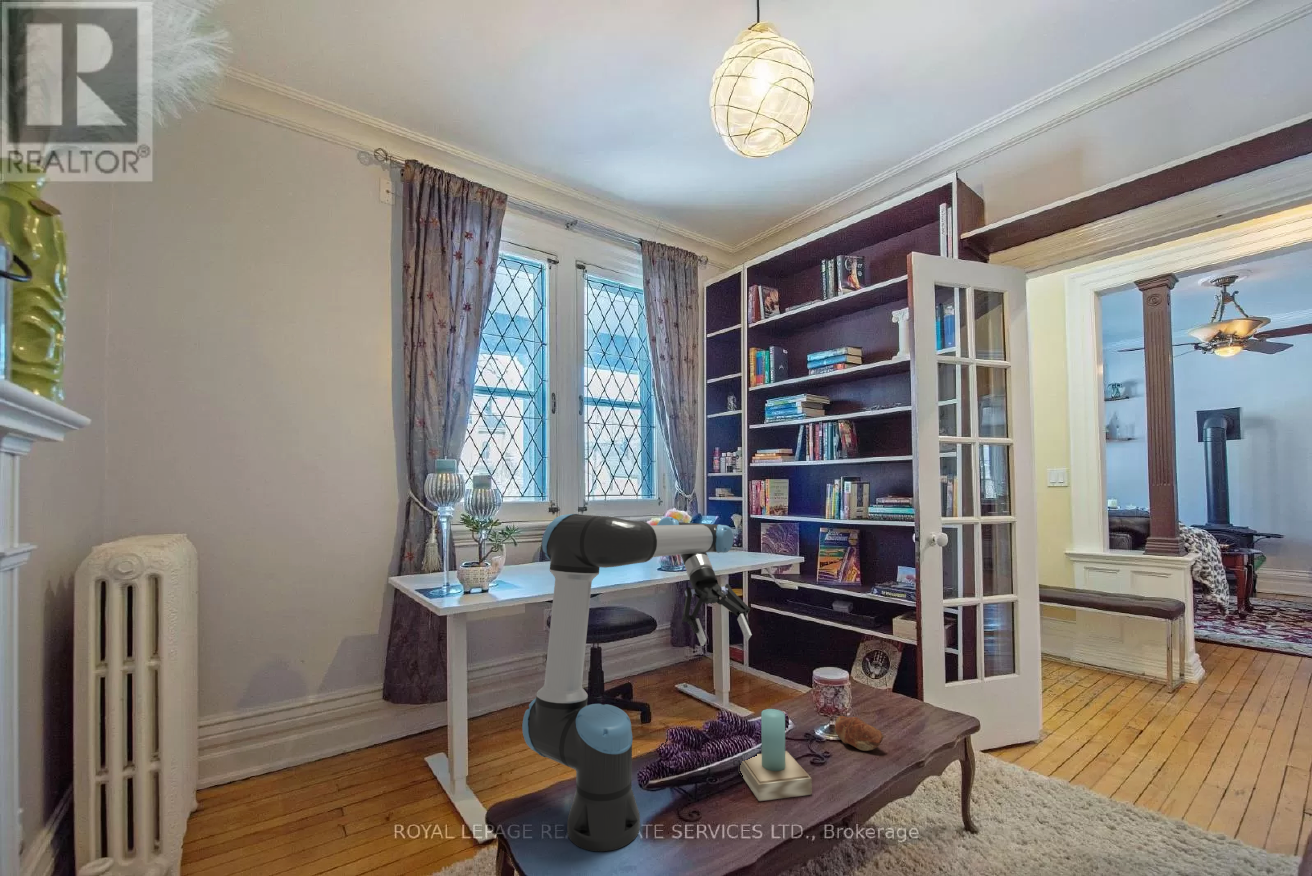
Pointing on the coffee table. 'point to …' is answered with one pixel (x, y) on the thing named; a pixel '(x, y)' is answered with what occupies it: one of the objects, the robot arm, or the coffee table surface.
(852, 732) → the bread roll
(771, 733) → the teal pillar
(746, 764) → the block
